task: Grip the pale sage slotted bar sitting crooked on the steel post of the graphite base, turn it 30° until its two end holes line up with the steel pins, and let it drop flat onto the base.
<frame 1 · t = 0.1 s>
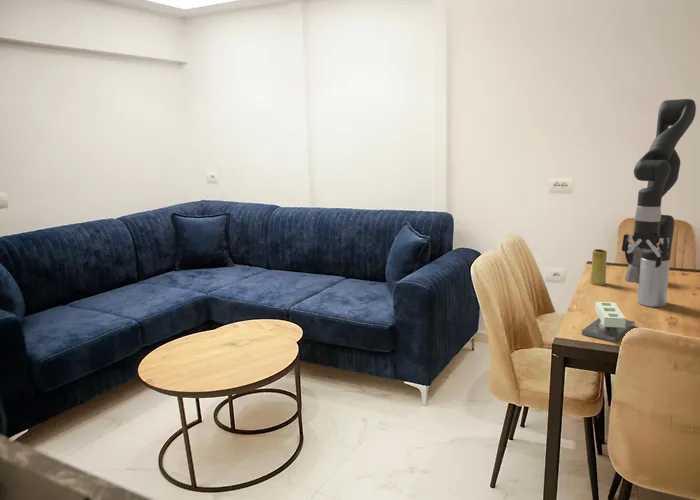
hand: (643, 265, 183), 17 cm above the table, tool pointing down, fingers open, 8 cm apart
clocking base: (608, 330, 173), on the table
flange bar: (609, 318, 172), point 4 cm above the table, touching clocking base
coffeepot: (635, 280, 227), on the table
vase: (597, 283, 224), on the table
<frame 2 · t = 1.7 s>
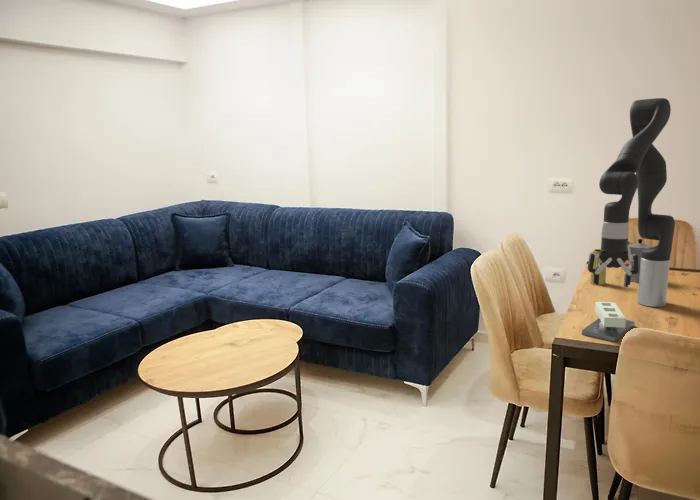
hand: (611, 285, 169), 15 cm above the table, tool pointing down, fingers open, 8 cm apart
nothing on the table moved.
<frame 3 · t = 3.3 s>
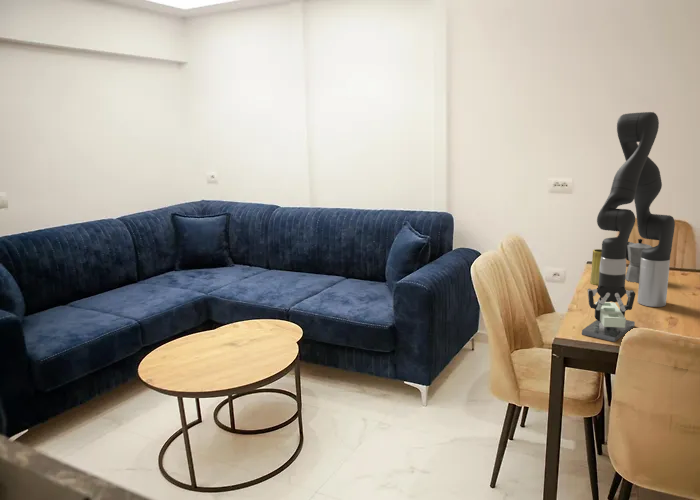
hand: (609, 320, 172), 3 cm above the table, tool pointing down, fingers closed on flange bar, 6 cm apart
flange bar: (609, 318, 172), point 4 cm above the table, touching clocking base, gripper
everything else where it was.
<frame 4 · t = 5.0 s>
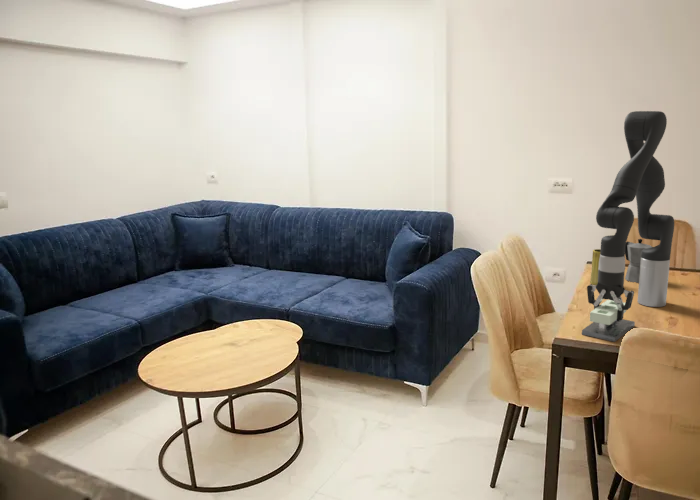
hand: (608, 318, 172), 4 cm above the table, tool pointing down, fingers closed on flange bar, 6 cm apart
flange bar: (608, 316, 172), point 5 cm above the table, touching gripper
everything else where it was.
when the fingers open (2 cm above the table, at t = 6.6 s): flange bar drops 2 cm, resting on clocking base.
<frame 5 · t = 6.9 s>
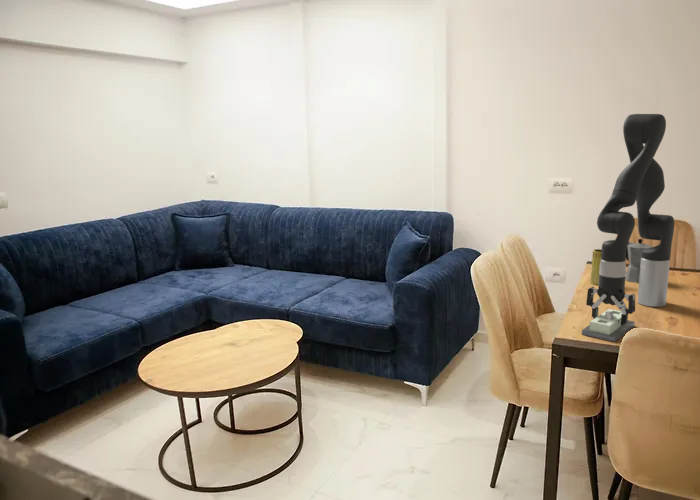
hand: (609, 321, 172), 3 cm above the table, tool pointing down, fingers open, 8 cm apart
flange bar: (608, 325, 172), point 1 cm above the table, touching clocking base
everything else where it was.
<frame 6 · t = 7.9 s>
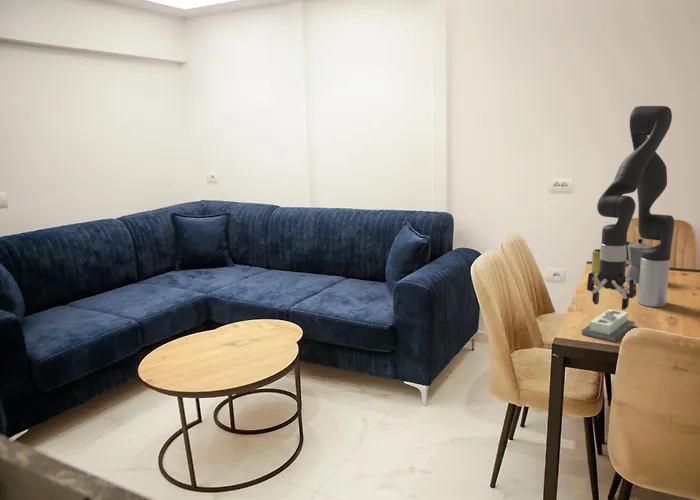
hand: (609, 306, 171), 8 cm above the table, tool pointing down, fingers open, 8 cm apart
nothing on the table moved.
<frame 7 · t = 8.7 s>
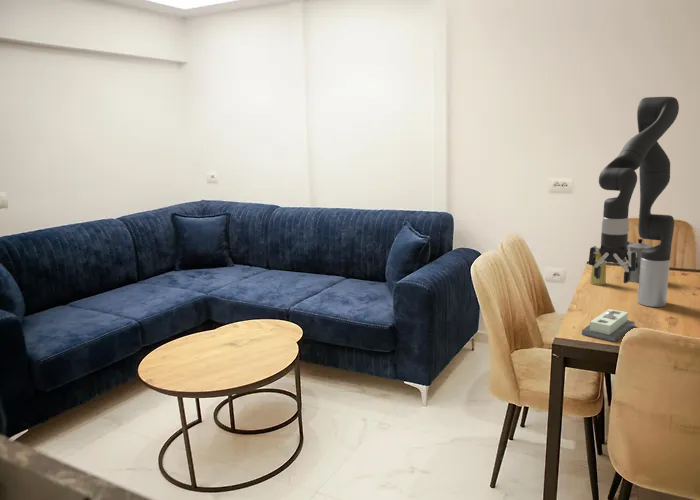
hand: (611, 280, 171), 16 cm above the table, tool pointing down, fingers open, 8 cm apart
nothing on the table moved.
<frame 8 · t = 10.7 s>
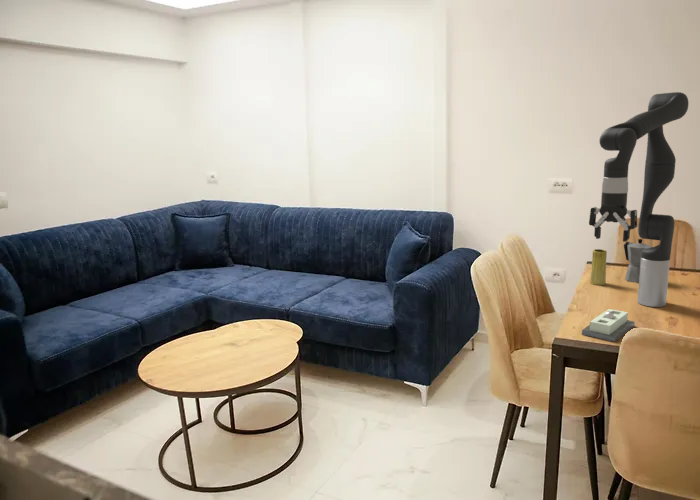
hand: (611, 239, 176), 28 cm above the table, tool pointing down, fingers open, 8 cm apart
nothing on the table moved.
at the end: flange bar 0.1 cm off-centre on the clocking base, point 1.5 cm above the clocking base's base; flange bar tilted 0°; the gripper is holding nothing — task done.
